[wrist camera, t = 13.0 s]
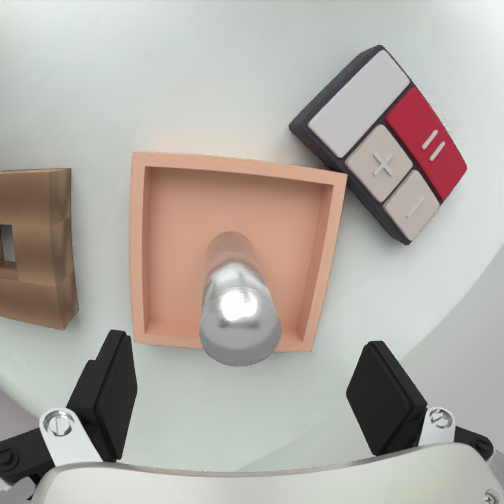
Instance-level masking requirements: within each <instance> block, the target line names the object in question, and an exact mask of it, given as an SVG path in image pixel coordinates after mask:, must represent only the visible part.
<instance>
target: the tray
mask: <svg viewBox="0 0 504 504" xmlns="http://www.w3.org/2000/svg"><path fill="white" fill-rule="evenodd" d="M347 175H348V174H344V173H339V172H334V171H329V170H323V169H317V168H310V167H304V166H297V165H290V164H283V163H275V162H267V161H259V160H250V159H241V158H231V157H220V156H208V155H195V154H179V153H160V152H133V158H132V172H131V191H130V226H129V250H130V286H131V305H132V319H133V331H134V342H136V343H144V344H153V345H163V346H173V347H185V348H198V349H204V348H203V347H202V344H201V342H200V337H199V331H200V318H201V307H202V296H203V285H204V275H205V265H206V256H207V249H208V246H209V244H210V242H211V241H212V240H213V239H214V238H215V237H216V236H217V235H219V234H221V233H224V232H230V231H231V232H238V233H241V234H243V235H244V236H246V237H247V238H248V239H249V240H250V242H251V243H252V245H253V248H254V251H255V253H256V256H257V259H258V262H259V265H260V267H261V270H262V273H263V276H264V278H265V281H266V284H267V287H268V290H269V292H270V295H271V298H272V301H273V304H274V306H275V309H276V312H277V315H278V318H279V320H280V323H281V330H282V333H281V338H280V341H279V344H278V346H277V347H276V349H275V350H274V351H273V352H311V350H312V346H313V342H314V338H315V334H316V330H317V326H318V322H319V318H320V314H321V310H322V306H323V301H324V297H325V293H326V288H327V284H328V279H329V275H330V270H331V265H332V260H333V255H334V250H335V245H336V240H337V235H338V229H339V224H340V218H341V212H342V207H343V201H344V194H345V188H346V182H347Z"/></svg>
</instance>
